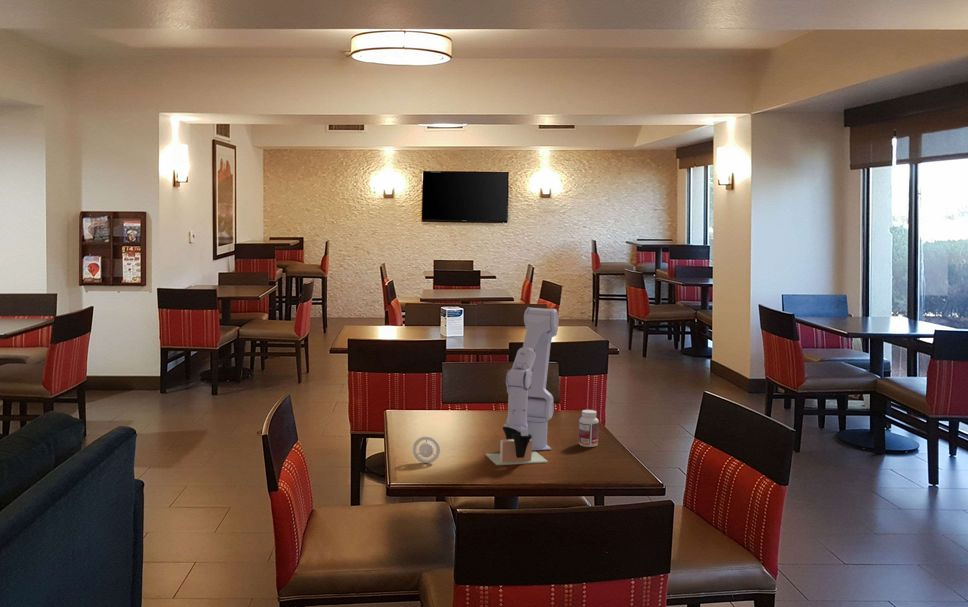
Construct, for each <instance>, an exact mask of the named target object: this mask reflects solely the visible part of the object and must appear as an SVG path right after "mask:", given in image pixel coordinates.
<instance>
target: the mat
mask: <svg viewBox="0 0 968 607" xmlns="http://www.w3.org/2000/svg"><path fill="white" fill-rule="evenodd" d="M485 456H486V457H487V458H488V459H489V460H490V461H491V462H492V463H493V464H494V465H495V466H504V465H505V466H507V465H508V466H509V465H527V464H544V463H548V462H549V461H548V460H547V459H546V458H545V457H544V456H542V455H541V454H539V453H538V452H537V451H532V454H531V460H529V461H510V462H502V461H501V460H500V452H499V453H496V452H495V453H486V454H485Z"/></svg>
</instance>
